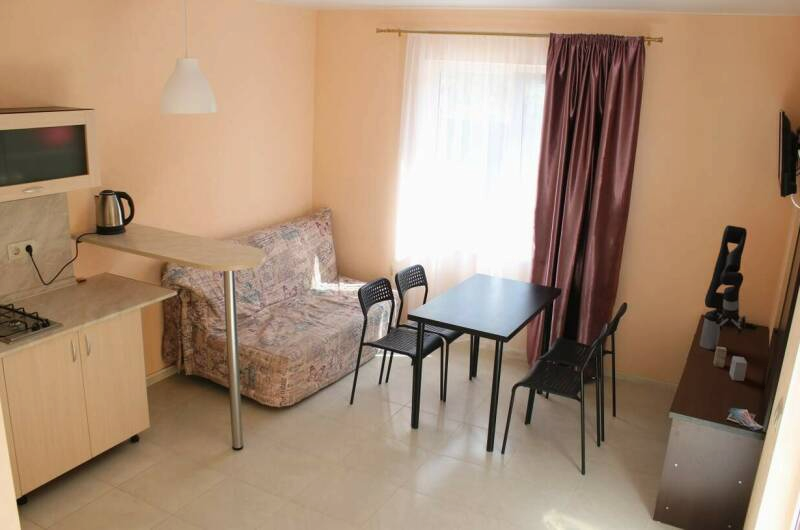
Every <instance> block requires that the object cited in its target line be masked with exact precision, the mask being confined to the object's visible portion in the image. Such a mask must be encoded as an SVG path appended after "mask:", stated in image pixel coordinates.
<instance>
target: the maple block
mask: <svg viewBox="0 0 800 530" xmlns="http://www.w3.org/2000/svg"><path fill="white" fill-rule="evenodd" d="M727 351H728V350H727V348H726V347H725V346H718V345H717V347H716V349H715V353H714V359H713V361H712V362H713V365H714V367H717V368H724V367H725V362H726V357H727Z"/></svg>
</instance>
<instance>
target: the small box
mask: <svg viewBox="0 0 800 530" xmlns="http://www.w3.org/2000/svg"><path fill="white" fill-rule="evenodd" d="M747 367H748V363H747V360H746V358H745V357H742V356H736V355H733V356H732V358H731V363H730V368H729V376H730V378H731V379H732V381H738V382H739V381H740V382H745V378H746V371H747Z"/></svg>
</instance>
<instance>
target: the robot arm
mask: <svg viewBox="0 0 800 530" xmlns="http://www.w3.org/2000/svg"><path fill="white" fill-rule="evenodd" d="M747 234H748V232H747V229H746V228H745V227H741V226H735V225H726V227H725V228H724V231H723V234H722V239H721V244H720V249H719V253H718V256H717V259H716V262H715V265H714V269H713V274H712V277H711V281H710V284H709V287H708V289H707V292H706V295H705V297H704V305H705V307H706V308H709V309H713V310H710V311H707V312H705V315H704V321H703V324H702V331H701V336H700V341H699V346H700V347H701V348H703V349H706V350H711V349H712V350H716V347H717V346H718V343H719V338H720V333H721V332H723V331H724V324H725V323H727V324H731V325H732V324H734V325H735V326H736V327H737V328H738V329H737V335H741V334H742V330H743V329H745V328H746V325H747V321H746V319H747V318H746V316H745V315H743V316H740V314H739V313H740V299H739V297H740V289H741V286H742V285H743V281H744V275H743V273H741V272H739V271H740V270H741V265H742V264H741V263H742V256H743V252H744V249H745V244H746V242H747V241H746V239H747ZM729 243H730V244H735V245H737V246H736V247H735V248H734V249H732V250H731V251H730V249H729V246H728V245H729ZM722 285H723V286H727V287H726V288H724V290H723V292H717V291H718V289H719V288H720V287H721V286H722ZM740 321H741V322H740ZM712 350H711V351H712Z"/></svg>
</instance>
